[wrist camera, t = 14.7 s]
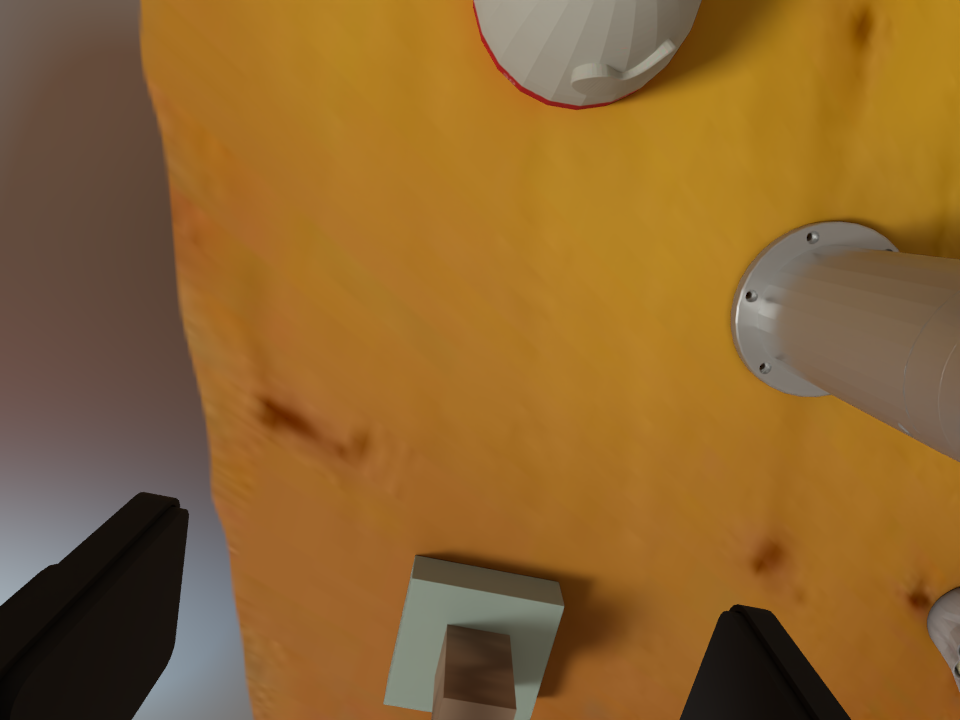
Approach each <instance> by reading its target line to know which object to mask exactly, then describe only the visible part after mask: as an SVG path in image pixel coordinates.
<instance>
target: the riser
mask: <svg viewBox="0 0 960 720" xmlns="http://www.w3.org/2000/svg"><path fill="white" fill-rule="evenodd" d="M563 609H564V602H563V598H562V594H561V589H560V585H559V582H556V581H550V580H545V579H540V578H534V577H529V576H524V575H518V574H513V573H508V572H502V571H497V570H492V569H486V568H481V567H476V566H470V565H465V564H460V563H454V562H449V561H444V560H438V559H433V558H428V557H422V556H417V555H415V559H414V564H413V568H412V573H411V577H410V582H409V586H408V590H407V595H406V599H405V604H404V608H403V613H402V617H401V622H400V626H399V631H398V635H397V640H396V644H395V648H394V653H393V657H392V662H391V666H390V671H389V675H388V681H387V687H386V693H385V698H384V704H386V705H392V706H398V707H404V708H409V709H415V710H421V711H427V712H432V706H433V693H434V679H435V673H436V669H437V665H438V661H439V657H440V652H441V648H442V644H443V640H444V636H445V632H446V628H447V624H449V625H454V626H460V627H466V628H472V629H477V630H483V631H489V632H494V633H500V634H506V635H510V642H511V653H512V664H513V675H514V686H515V697H516V708H517V710H516V714H515V717H514V720H530V717H531V714H532V711H533V708H534V704H535V701H536V698H537V695H538V691H539V688H540V685H541V681H542V678H543V675H544V672H545V668H546V665H547V662H548V659H549V655H550V652H551V649H552V645H553V642H554V639H555V636H556V632H557V629H558V626H559V623H560V619H561V616H562V613H563Z"/></svg>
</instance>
